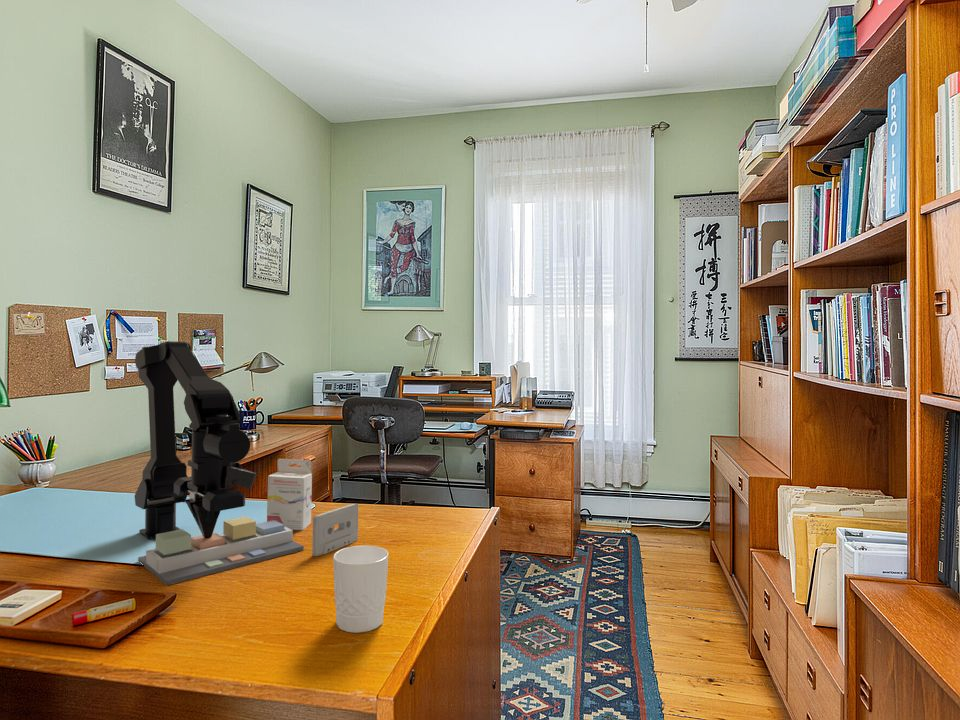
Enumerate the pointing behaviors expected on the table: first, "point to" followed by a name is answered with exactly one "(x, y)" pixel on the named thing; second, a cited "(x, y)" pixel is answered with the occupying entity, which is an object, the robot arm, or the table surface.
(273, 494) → the ink cartridge box
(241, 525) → the key ochre
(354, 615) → the white cup
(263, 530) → the key slate
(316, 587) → the table surface
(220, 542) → the key terracotta
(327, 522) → the cassette
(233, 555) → the keypad base
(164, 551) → the key sage
